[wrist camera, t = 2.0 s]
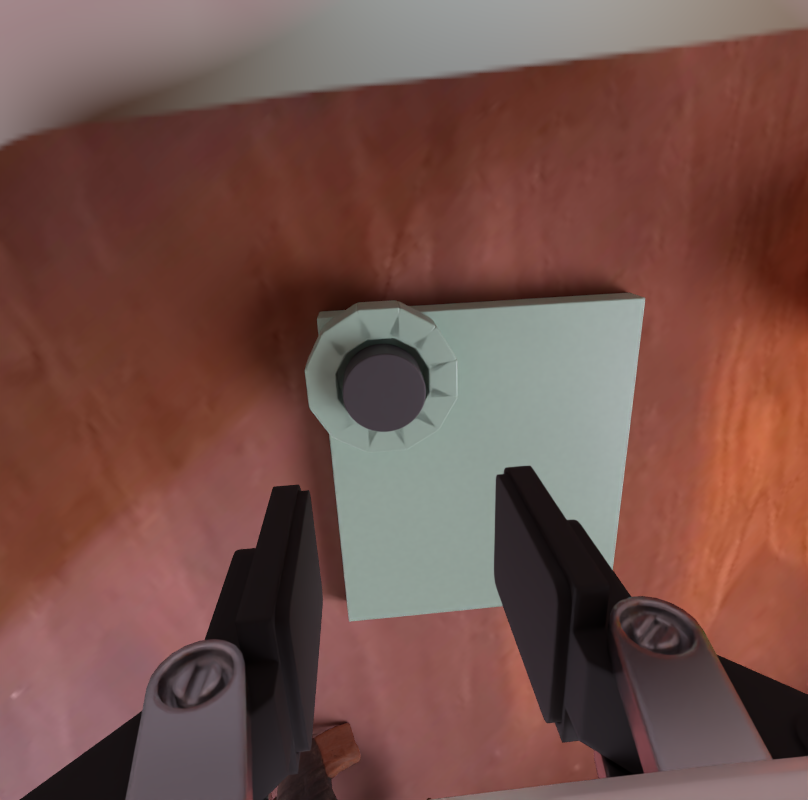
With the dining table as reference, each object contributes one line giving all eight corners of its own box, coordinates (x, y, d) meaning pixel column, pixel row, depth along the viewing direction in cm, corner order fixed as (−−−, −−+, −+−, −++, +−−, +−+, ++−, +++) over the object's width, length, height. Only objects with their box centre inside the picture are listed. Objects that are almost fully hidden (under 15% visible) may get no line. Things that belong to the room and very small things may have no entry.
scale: (304, 299, 23) (297, 313, 20) (631, 279, 24) (668, 290, 21) (338, 603, 29) (337, 647, 26) (598, 578, 30) (624, 617, 27)
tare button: (339, 345, 21) (338, 357, 19) (420, 340, 21) (425, 351, 20) (346, 420, 22) (346, 435, 21) (422, 414, 22) (427, 429, 21)
